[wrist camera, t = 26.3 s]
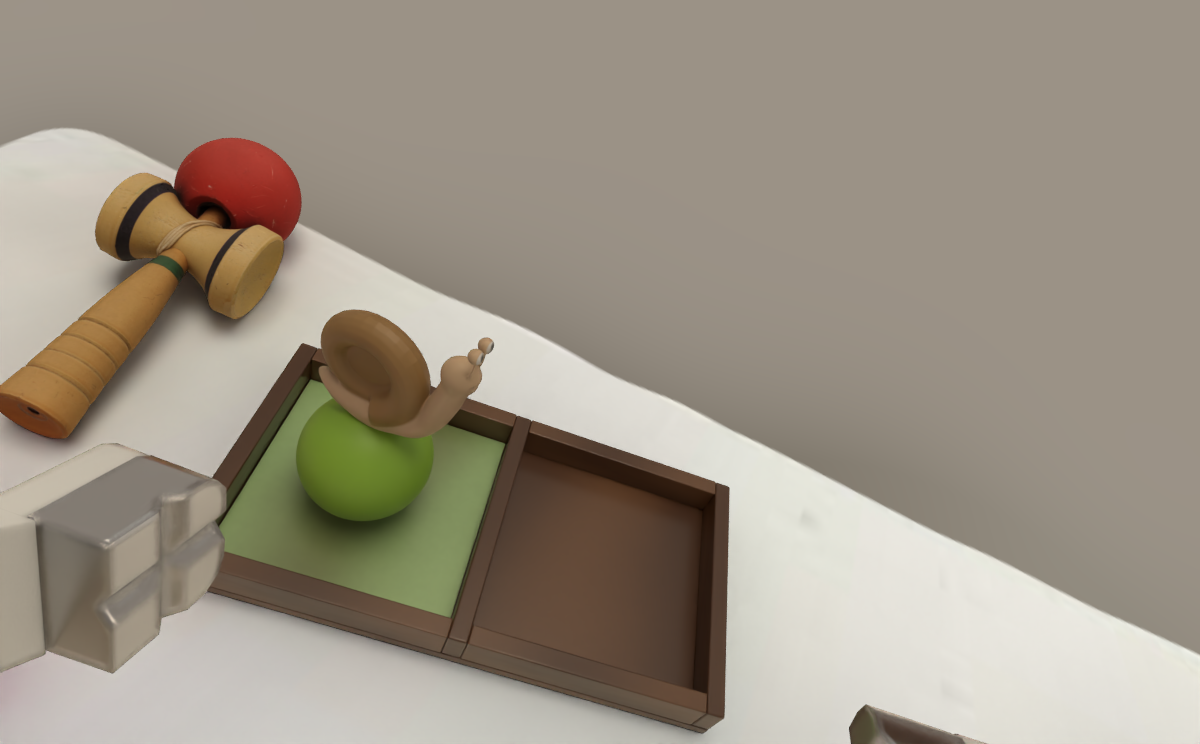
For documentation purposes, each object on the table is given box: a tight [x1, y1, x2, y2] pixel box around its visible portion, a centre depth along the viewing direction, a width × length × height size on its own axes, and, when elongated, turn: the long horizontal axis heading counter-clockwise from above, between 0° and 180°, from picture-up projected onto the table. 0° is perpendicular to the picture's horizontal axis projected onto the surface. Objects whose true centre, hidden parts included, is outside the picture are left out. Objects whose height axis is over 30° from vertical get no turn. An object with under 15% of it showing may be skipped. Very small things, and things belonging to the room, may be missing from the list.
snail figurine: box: [296, 310, 494, 521], centre depth 27 cm, size 5×6×12 cm
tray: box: [207, 343, 729, 733], centre depth 32 cm, size 22×12×2 cm, turn 82°
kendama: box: [0, 138, 301, 439], centre depth 34 cm, size 8×6×18 cm
